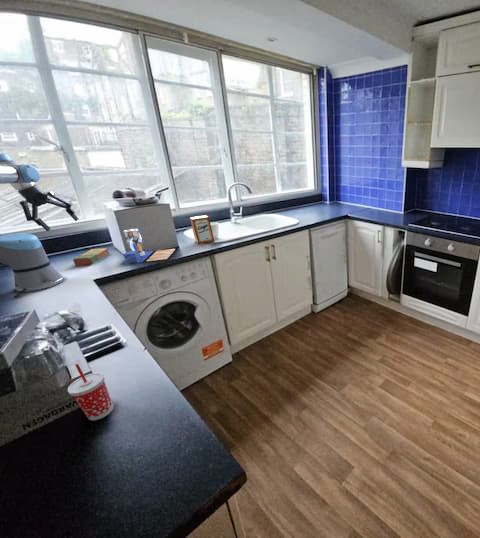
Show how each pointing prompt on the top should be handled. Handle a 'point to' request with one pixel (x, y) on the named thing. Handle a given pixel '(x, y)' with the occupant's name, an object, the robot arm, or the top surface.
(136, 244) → the beer glass
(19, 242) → the robot arm
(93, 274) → the top surface
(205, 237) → the baking soda box
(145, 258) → the blue mat
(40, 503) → the top surface
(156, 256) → the amber mat
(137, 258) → the blue block
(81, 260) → the carton
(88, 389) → the beverage cup
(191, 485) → the top surface
